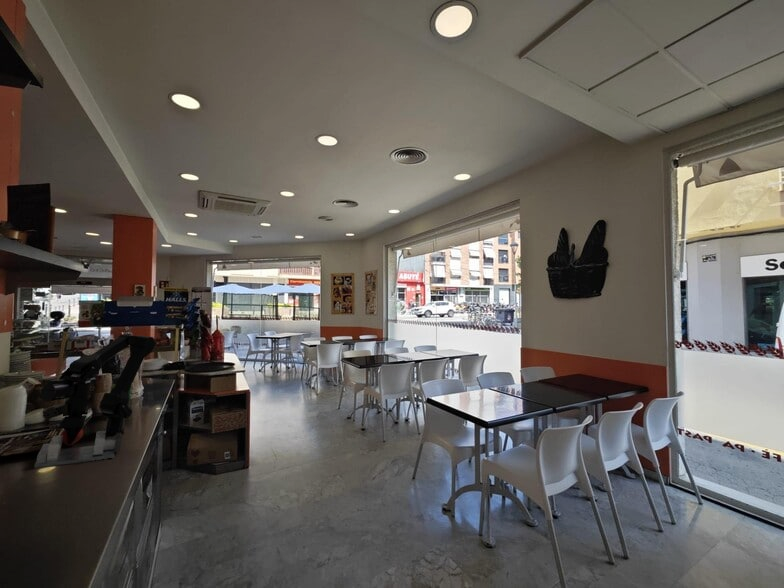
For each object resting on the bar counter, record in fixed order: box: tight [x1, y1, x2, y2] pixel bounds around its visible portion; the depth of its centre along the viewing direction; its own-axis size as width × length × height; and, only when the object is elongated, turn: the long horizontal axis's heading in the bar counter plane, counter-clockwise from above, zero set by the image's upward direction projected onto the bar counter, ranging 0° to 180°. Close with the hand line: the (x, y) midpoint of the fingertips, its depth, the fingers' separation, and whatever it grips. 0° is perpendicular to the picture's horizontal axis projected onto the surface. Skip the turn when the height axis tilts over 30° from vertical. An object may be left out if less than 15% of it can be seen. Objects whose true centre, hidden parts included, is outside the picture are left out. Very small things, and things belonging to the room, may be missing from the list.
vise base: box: [33, 434, 116, 469], centre depth 116 cm, size 12×19×6 cm, turn 128°
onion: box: [60, 428, 84, 446], centre depth 124 cm, size 6×6×8 cm
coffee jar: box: [109, 373, 134, 408], centre depth 160 cm, size 10×8×19 cm
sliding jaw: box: [93, 430, 123, 455], centre depth 120 cm, size 9×7×5 cm
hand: (70, 441), depth 123 cm, fingers closed on onion, 6 cm apart
